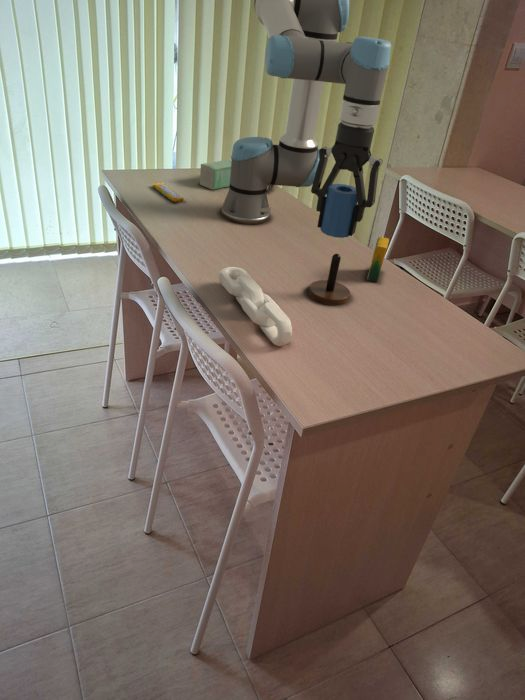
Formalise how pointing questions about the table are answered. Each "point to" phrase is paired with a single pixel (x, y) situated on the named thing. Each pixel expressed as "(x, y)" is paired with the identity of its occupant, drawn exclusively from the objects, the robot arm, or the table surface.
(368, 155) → the robot arm
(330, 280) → the stand post
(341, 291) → the stand base
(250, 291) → the chain
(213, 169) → the box
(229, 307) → the table surface
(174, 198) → the candy bar
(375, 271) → the crayon box
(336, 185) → the towel roll
